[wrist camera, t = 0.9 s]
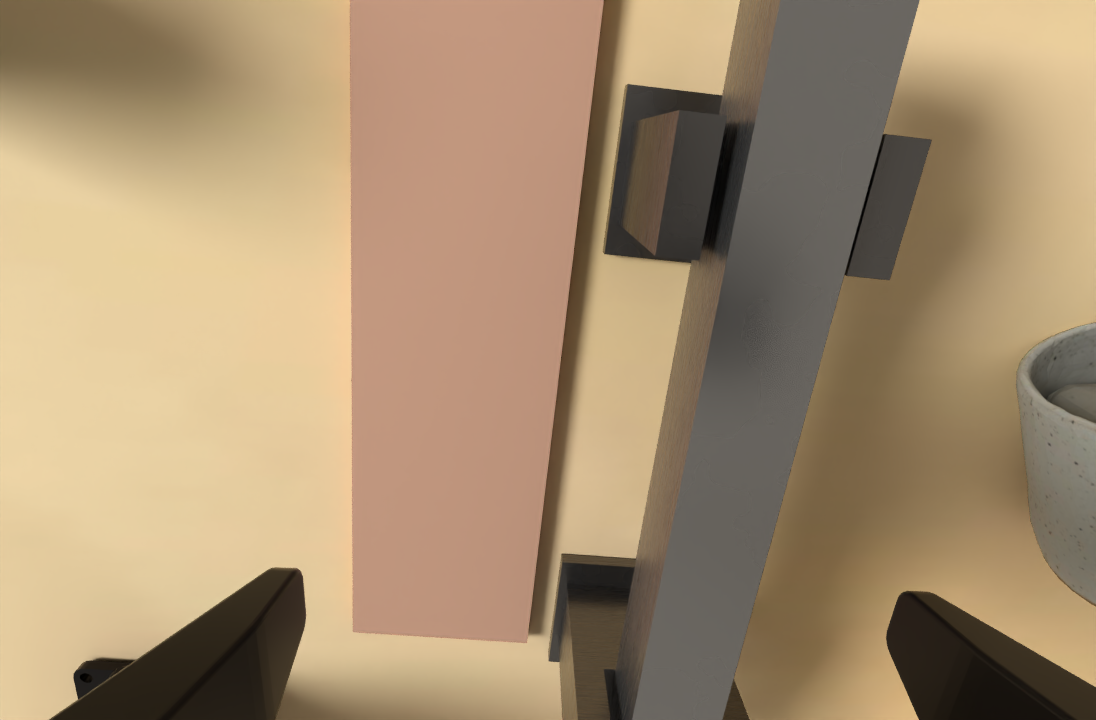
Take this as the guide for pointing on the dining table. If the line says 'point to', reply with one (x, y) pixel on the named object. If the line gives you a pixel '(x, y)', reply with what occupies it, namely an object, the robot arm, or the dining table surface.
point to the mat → (459, 299)
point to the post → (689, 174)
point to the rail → (753, 335)
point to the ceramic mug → (1062, 452)
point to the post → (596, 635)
